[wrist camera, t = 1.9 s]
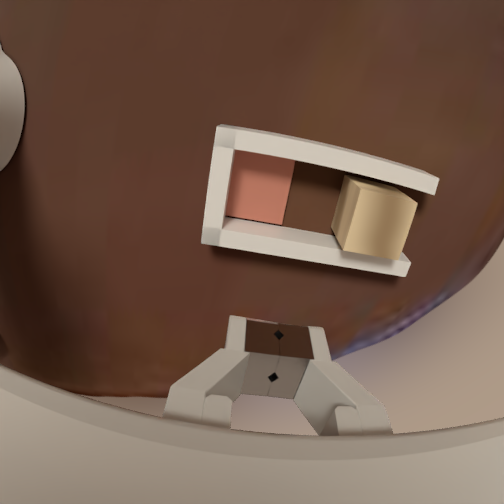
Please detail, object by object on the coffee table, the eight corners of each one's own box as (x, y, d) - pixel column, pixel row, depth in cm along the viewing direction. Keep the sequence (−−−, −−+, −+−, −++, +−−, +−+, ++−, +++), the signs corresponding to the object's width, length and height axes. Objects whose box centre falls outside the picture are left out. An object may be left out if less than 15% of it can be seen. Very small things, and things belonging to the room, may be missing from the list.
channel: (206, 229, 29) (200, 243, 27) (221, 124, 25) (216, 126, 22) (394, 262, 30) (405, 277, 28) (423, 170, 26) (439, 178, 23)
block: (330, 226, 29) (343, 250, 24) (344, 174, 27) (360, 188, 22) (379, 236, 29) (398, 260, 25) (394, 186, 27) (417, 203, 23)
